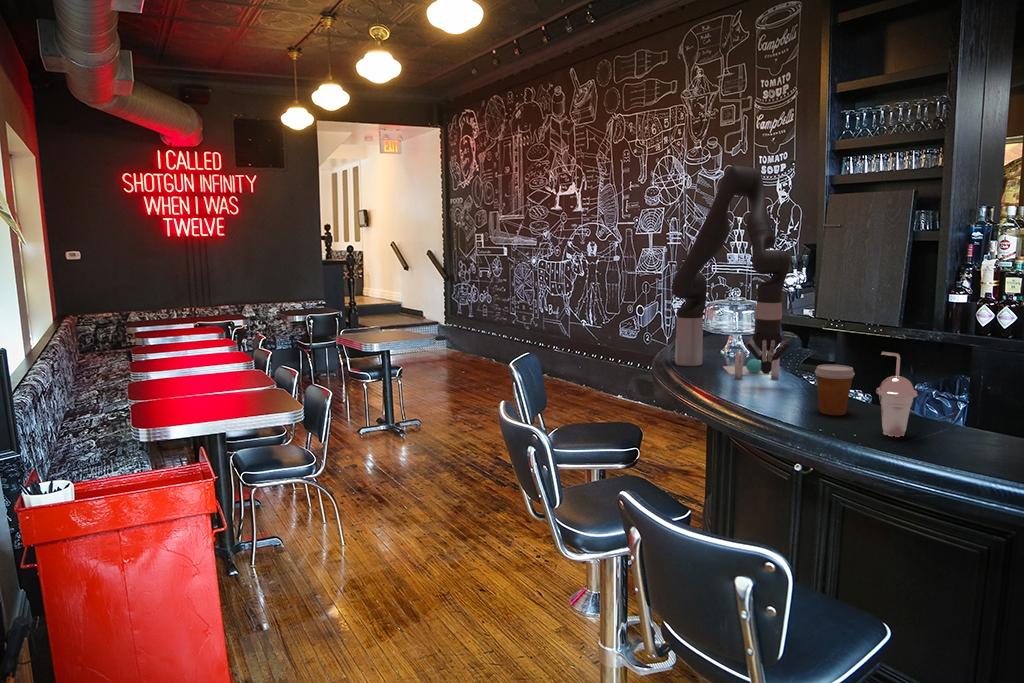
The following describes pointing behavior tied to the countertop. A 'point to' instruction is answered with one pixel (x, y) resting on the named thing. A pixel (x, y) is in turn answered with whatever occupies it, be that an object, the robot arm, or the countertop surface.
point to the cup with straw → (895, 401)
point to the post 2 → (775, 369)
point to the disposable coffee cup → (833, 388)
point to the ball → (754, 366)
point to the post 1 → (738, 365)
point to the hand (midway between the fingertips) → (765, 373)
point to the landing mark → (745, 372)
